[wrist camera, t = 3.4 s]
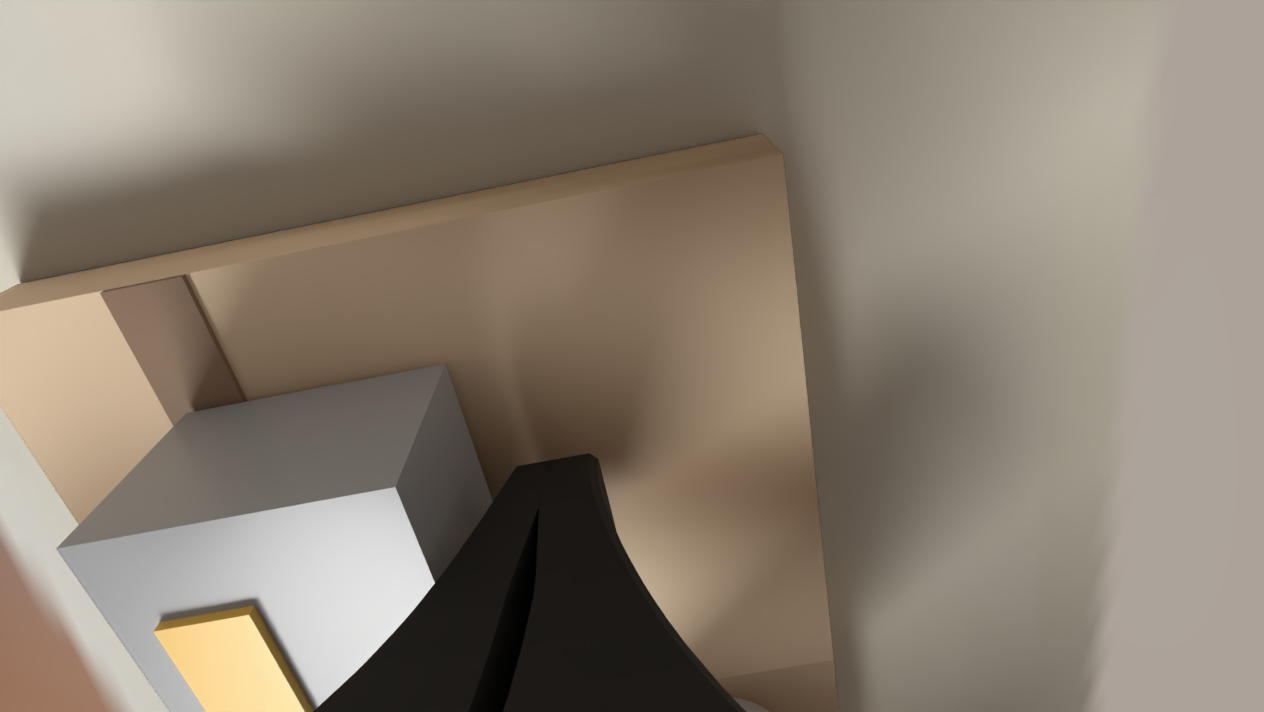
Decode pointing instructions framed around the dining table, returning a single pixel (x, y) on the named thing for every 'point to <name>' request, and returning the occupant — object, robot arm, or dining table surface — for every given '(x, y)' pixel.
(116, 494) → the block
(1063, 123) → the dining table surface
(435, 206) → the plank
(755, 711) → the dark grey piece
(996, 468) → the dining table surface
